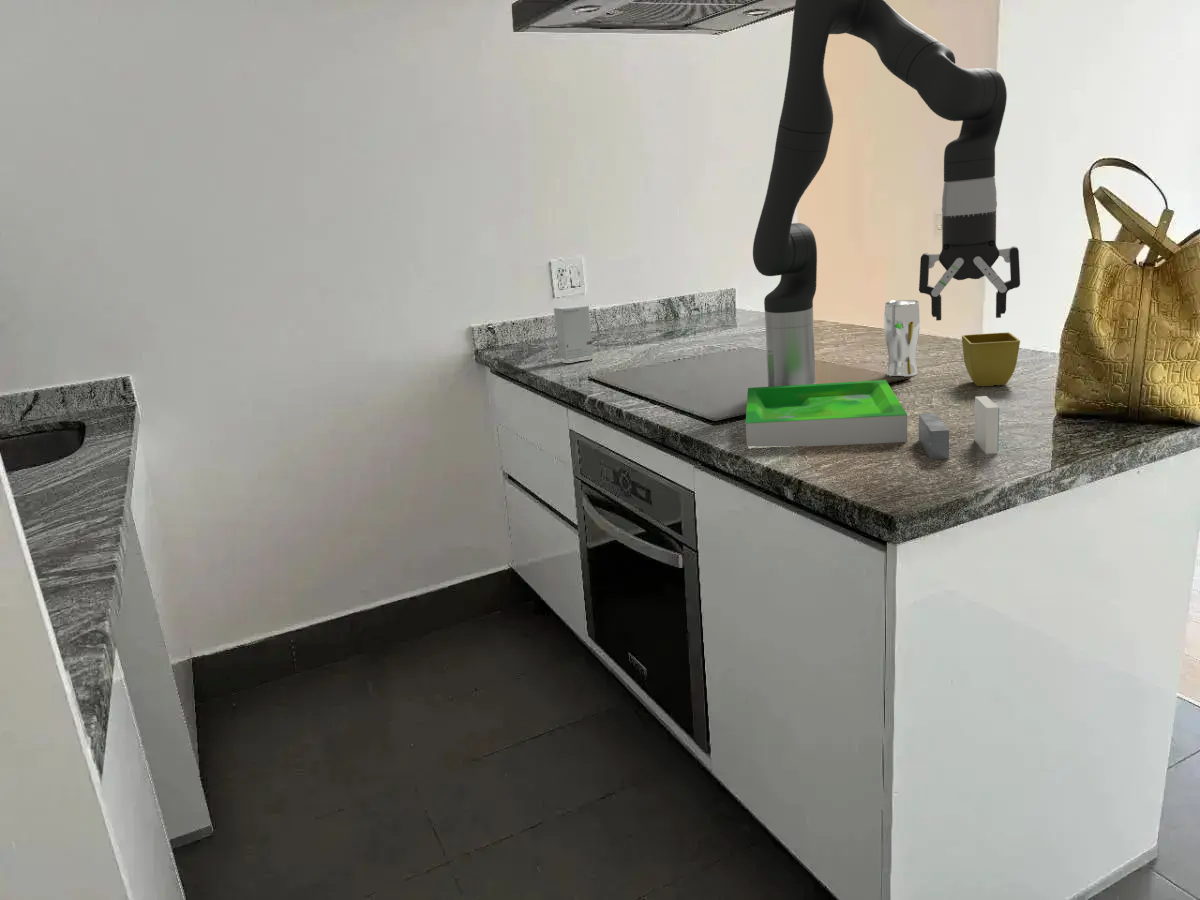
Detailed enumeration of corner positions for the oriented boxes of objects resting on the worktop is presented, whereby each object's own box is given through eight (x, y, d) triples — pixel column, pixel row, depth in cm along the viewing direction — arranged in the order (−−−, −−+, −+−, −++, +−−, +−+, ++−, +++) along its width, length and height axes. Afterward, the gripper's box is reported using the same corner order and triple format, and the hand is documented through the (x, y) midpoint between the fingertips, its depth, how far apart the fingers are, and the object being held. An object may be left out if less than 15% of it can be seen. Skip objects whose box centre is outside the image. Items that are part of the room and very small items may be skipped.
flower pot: (1019, 387, 161) (1021, 340, 159) (969, 390, 163) (970, 343, 161) (1008, 377, 170) (1009, 331, 167) (960, 380, 172) (961, 335, 169)
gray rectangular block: (930, 460, 128) (931, 431, 126) (918, 441, 137) (918, 413, 136) (948, 459, 127) (949, 430, 126) (935, 440, 137) (935, 412, 135)
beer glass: (921, 370, 183) (921, 299, 179) (917, 377, 177) (918, 304, 173) (886, 370, 186) (886, 300, 182) (882, 378, 180) (881, 305, 176)
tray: (907, 445, 137) (907, 414, 136) (747, 452, 142) (745, 422, 141) (885, 406, 161) (885, 379, 159) (749, 413, 165) (747, 387, 164)
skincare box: (566, 365, 231) (559, 309, 227) (558, 362, 236) (552, 307, 232) (595, 360, 234) (589, 304, 229) (586, 357, 239) (581, 303, 235)
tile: (985, 454, 128) (986, 408, 126) (974, 440, 134) (975, 396, 132) (998, 453, 127) (999, 407, 125) (986, 440, 134) (987, 395, 132)
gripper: (917, 217, 130) (918, 324, 134) (1022, 207, 124) (1020, 320, 129) (920, 214, 137) (921, 317, 141) (1020, 205, 131) (1018, 312, 135)
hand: (968, 318), depth 135 cm, fingers open, 8 cm apart
